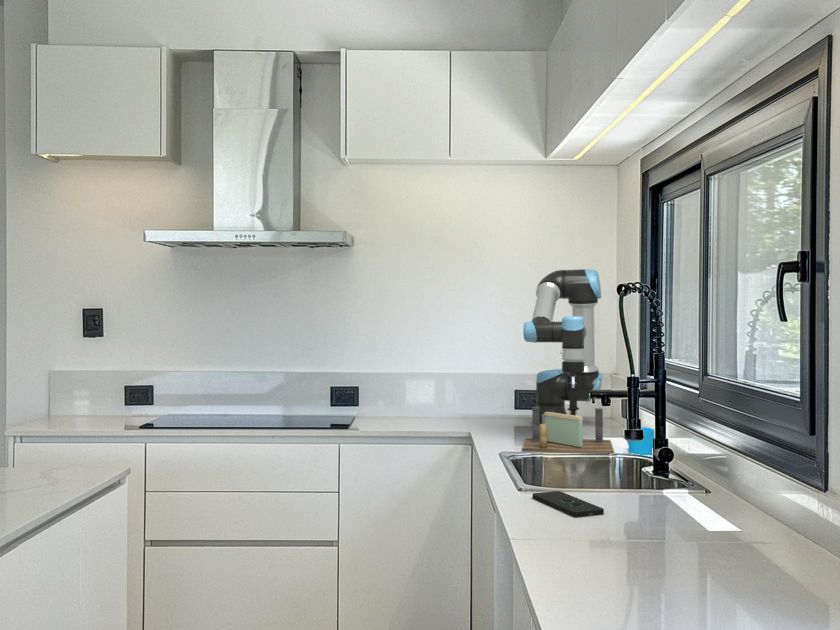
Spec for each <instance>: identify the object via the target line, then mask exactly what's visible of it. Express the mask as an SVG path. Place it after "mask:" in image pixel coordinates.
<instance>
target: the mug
mask: <svg viewBox="0 0 840 630" xmlns="http://www.w3.org/2000/svg"><path fill="white" fill-rule="evenodd" d="M641 428H642V429H643V431H644V439H643V440H642V441H627V440H626V442H627V445H628V453H629V452H630V453H634V454H640V455H652V448H653V443H652V442H653V438H654V439H655V429H654V428H653V427H645V426H643V427H642V426H641ZM652 456H653V455H652Z"/></svg>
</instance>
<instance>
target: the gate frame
mask: <svg viewBox="0 0 840 630" xmlns="http://www.w3.org/2000/svg"><path fill="white" fill-rule="evenodd" d="M531 409H532V411H531V412H532V414H531V416H532V421H531V422H532V423H531V424H532V437H525V439H524V442H523V445H522V447H521V452H533V453H535V452H536V453H562V454H563V453H564V454H565V453H566V454H575V453H574V452H581V453H580V454H592V453H614V454H615V450H614V447H613V444H612V442H611V439H604V438H603V435H604V434H603V433H604V429H603V427H604V425H603V424H604V423H603V420H604V418H603V414H604V413H603V411H604V410H603V408H599V407H596V408H595V409H594V413H595V414H594V416H595V417H594V418H595V424H594V425H595V429H594V430H595V435H594V438H595V439H593V438H591V439H590V438H589V439H588V438H587V439H586V438H585V439H584V438H583V446H581V447H578V446H572V445H567V444H561V443H555V442H550V441H547V424H540V407H536V406H533V407H532V408H531Z"/></svg>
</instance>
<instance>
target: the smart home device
mask: <svg viewBox="0 0 840 630" xmlns="http://www.w3.org/2000/svg"><path fill="white" fill-rule="evenodd" d="M532 499H533V500H535V501H537V502H539V503H542V504H544V505H546V506H548V507H551V508H552V509H554V510H557V511H559V512H561V513H564V514H566V515H568V516H571V517H573V518H582V517H583V518H584V517H585V518H586V517H592V516H600V515H601V516H602V515H605V513H604V512H605V511H604V508H602V507H601V506H597V505H595V504H593V503H590V502H589V501H585V500H584V499H581V498H578V497H576V496H573V495H571V494H568V493H566V492H563V491H561V490H553V491H545V492H544V491H542V492H533V493H532Z"/></svg>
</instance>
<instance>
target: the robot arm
mask: <svg viewBox="0 0 840 630" xmlns="http://www.w3.org/2000/svg"><path fill="white" fill-rule="evenodd" d="M601 288H602V287H601V281H600V276H599V273H598V271H597V270H595V269H585V268H583V269H558V270H554V271H552V272H549V274H546V276H544V277H543V278H541V280H540V281H539V283H538V284H537V287H536V290H535V295H536V300H535V301H536V302H535V305H534V310H533V314H532V318H531V320H530V321H526V322H524V323H523V339H524V341H525V342H527V343H535V344H536V343H561V344H562V345H561V350H560V354H561V355H562V357H561V359H562V360H563V361H562V362H561V368H555V369H547V370H542V371H539V372H538V373H537V374H536V380H535V381H536V382H535V384H536V390H535V391H536V393H535V394H536V400H535V401H536V403H535V404H536V406H535V407H540V424H542V414H544V412H553V413H560V414H567V415H575V416H578V410H580V407H578V402H587V403H588V402H592V401H591V399H590V396H589V393H590V390H600V391H601V388H602V387H601V386H602V380H603V373H602V372H600V371H599V370H600V369H599V367H598V366H597V364H595V362H596V361H595V360H596V359H595V358H596V357H595V355H596V354H595V353H596V352H595V351H596V350H595V306H596V305H597V304H598V302H599V300H600V299H601V298H602V289H601ZM559 299H563V300H566V299H567V300H568V304H569V305H570V306H571V312H572V313H571V314H572V315H571V316H566V315H565V316H563V317H562V319H561V321H553V320H554V316H555V310H556V304H557V302H558V301H559ZM567 401H569V405H568V406H569V407H567V410H566V406H565V405H566V404H565V403H566V402H567ZM596 401H598V400H596ZM596 401H595V402H596ZM567 411H568V412H569V413H567Z"/></svg>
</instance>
